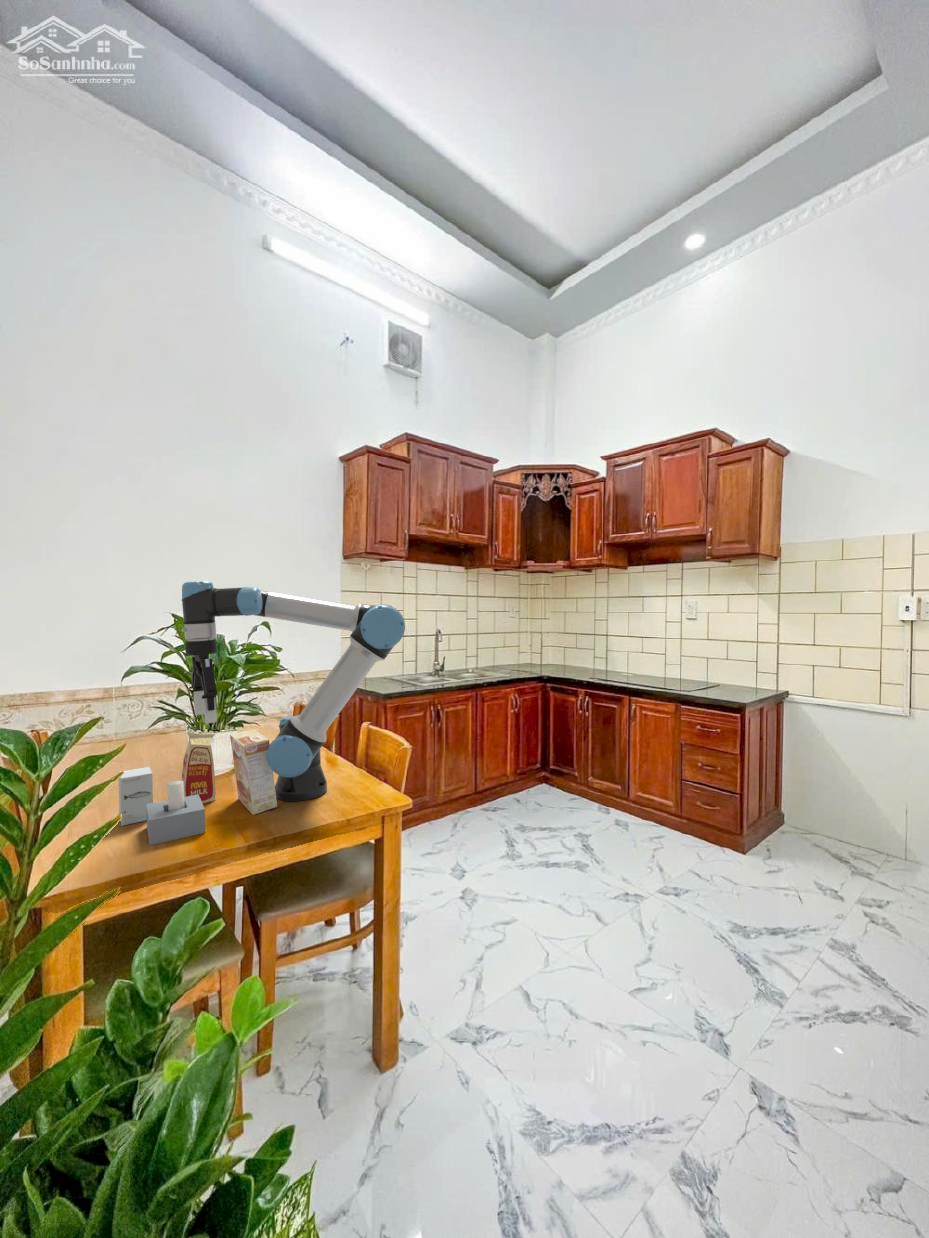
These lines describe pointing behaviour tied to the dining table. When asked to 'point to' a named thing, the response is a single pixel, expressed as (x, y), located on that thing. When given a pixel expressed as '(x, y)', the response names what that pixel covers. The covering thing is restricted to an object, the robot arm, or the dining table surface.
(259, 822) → the dining table surface
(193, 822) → the socket
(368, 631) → the robot arm
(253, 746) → the coffeecake box
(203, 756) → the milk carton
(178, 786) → the peg
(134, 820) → the supplement box
